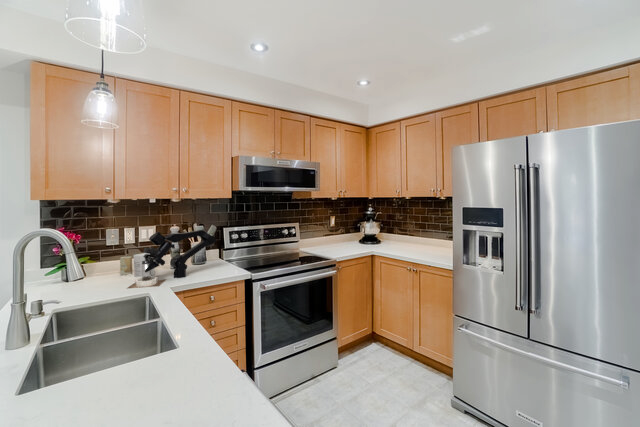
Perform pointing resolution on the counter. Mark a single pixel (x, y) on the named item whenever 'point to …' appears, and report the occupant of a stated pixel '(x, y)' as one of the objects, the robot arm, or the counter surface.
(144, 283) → the ceramic ring
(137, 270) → the supplement box
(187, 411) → the counter surface
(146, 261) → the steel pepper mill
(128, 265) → the skincare box
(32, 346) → the counter surface
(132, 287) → the walnut board
